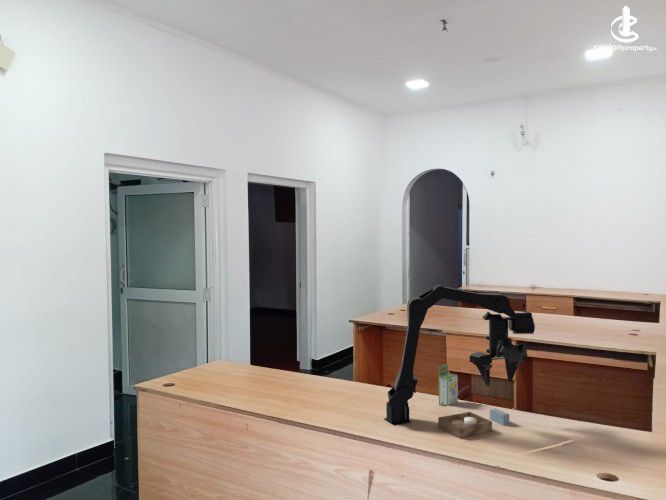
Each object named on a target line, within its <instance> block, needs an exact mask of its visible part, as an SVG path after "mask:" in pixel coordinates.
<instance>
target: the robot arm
mask: <svg viewBox="0 0 666 500" xmlns="http://www.w3.org/2000/svg"><path fill="white" fill-rule="evenodd" d="M440 300H450V301H454V302H459V303H465V304H470V305H473V306H479V307H481V308H484V309H487V310H488V311H487V312H486V313H485V314H484V315H483V316H482V319H483V320H485V321H488V335H487V336H486V338H485V339H486V340H487V341H488V348H486V352H482V351H480V352H479V351H478V352H477V351H476V352H472V353H470V354H469V355H470V356H469V363H472V365H474V366H476V368H477V370H478V372H479V373H480V376H481V378H482V380H483V382H484V384H485V386H487V387H489V386H490V381H491V377H490V376H491V369H492V368H493V365H492V364H493V361H497V360H504V364H505V371H506V377H507V380H508V382H509V383H512V382H513V380H514V377H515V374H516V371H517V369H518V367H519V365H520V364H523V363H524V362H525V361H526V360H528V351H527V345H526V344H524V343H520V344H513V340H512V337H509V331H510V332H511V333H512V334H513V335H534V333H535V329H536V325H535V322H534V321H535V320H534V318H533V313H532V312H530V311H523V312H515V310H514V309H513V308H512V306H511V301H510V299H509V298H508V297H507V296H506V295H503V294H501V293H498V292H481V293H480V292H473V291H468V290H463V289H458V288H453V287H447V286H443V285H442V284H441V285H440V284H437V285H435V286H434V287H433V288H431V289H429V290H427V291H426V292H424V293H421V294H420V295H419V296H413V297H411V298H410V299H408V301H407V304H406V314H407V327H406V333H405V334H406V335H405V339H404V346H403V352H402V360H401V364H400V365H401V366H400V368H399V371H398V373H397V375H396V378H395V380H394V384H393V386H392V387H391V388H390V389H389V390H388V391H387V399H388V401H386V407H385V410H386V417H385V418H383V420H384V421H385V422H388V423H389V424H391V425H393V426H399V425H405V424H410V423H412V421H411V420H410V406H409V400H410V399H412V398H413V396H414V394H416V393H417V391H416V389H417V388H416V387H417V385H418V381H419V380H418V378H417V375H416V374H414V366H415V362H416V355H417V349H418V344H419V337H420V330H421V328H422V325H423V323H424V322H425V319H426V316H427V312H428V310H429V309H430V308H432V307H434V305H436V304H437V303H438V302H440ZM490 311H492V312H494V313H491V312H490ZM495 313H496V314H495ZM502 314H503V315H506V316H502Z"/></svg>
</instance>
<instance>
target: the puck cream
mask: <svg viewBox="0 0 666 500" xmlns="http://www.w3.org/2000/svg"><path fill="white" fill-rule="evenodd" d="M472 424H476V418H473V417H465V418H464V426H467V425H472Z"/></svg>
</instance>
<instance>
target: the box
mask: <svg viewBox="0 0 666 500" xmlns="http://www.w3.org/2000/svg"><path fill="white" fill-rule="evenodd" d="M465 417H473V418H476V424H472V425H467V426H462V427H459V426H457V425H455V424H453V423H452V421H453V420H461V421H464V418H465ZM437 421H438V423H437V424H438V426H437V427H438V428H439V429H441V430H443V431H444V432H447V433H448V434H450V435H452V436H454V437H456V438H458V439H464V438H469V437H474V436H478V435H482V434H488V433H491V432H493V421H492V420H490V419H487V418H485V417H483V416H480V415H478V414H476V413H473V412H471V411H465V412H460V413H455V414H454V413H453V414H450V415H444V416H439V417H438V420H437Z"/></svg>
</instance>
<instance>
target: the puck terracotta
mask: <svg viewBox="0 0 666 500" xmlns="http://www.w3.org/2000/svg"><path fill="white" fill-rule="evenodd" d="M452 423H453V424H455V425H457V426H459V427H462V426H464V421H461V420H453V421H452Z"/></svg>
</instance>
